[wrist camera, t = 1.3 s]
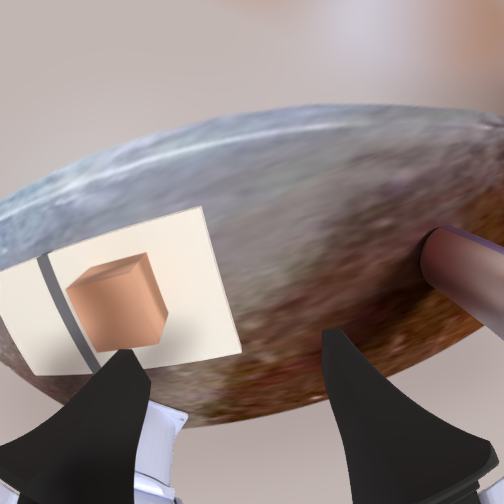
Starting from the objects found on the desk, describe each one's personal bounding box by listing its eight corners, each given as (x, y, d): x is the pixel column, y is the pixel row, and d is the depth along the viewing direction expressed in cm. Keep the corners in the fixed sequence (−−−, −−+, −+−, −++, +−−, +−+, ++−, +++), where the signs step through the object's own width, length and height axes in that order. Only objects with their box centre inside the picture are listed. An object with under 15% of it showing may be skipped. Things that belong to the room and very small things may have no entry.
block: (146, 252, 19) (129, 273, 15) (168, 313, 20) (158, 344, 16) (89, 267, 18) (65, 289, 15) (113, 323, 20) (96, 352, 16)
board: (201, 205, 19) (200, 207, 18) (241, 345, 23) (241, 352, 22) (-10, 275, 18) (-16, 278, 18) (38, 370, 22) (35, 375, 21)
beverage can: (456, 215, 21) (581, 268, 7) (459, 268, 23) (562, 336, 9) (413, 236, 21) (551, 315, 7) (419, 292, 23) (525, 384, 9)
